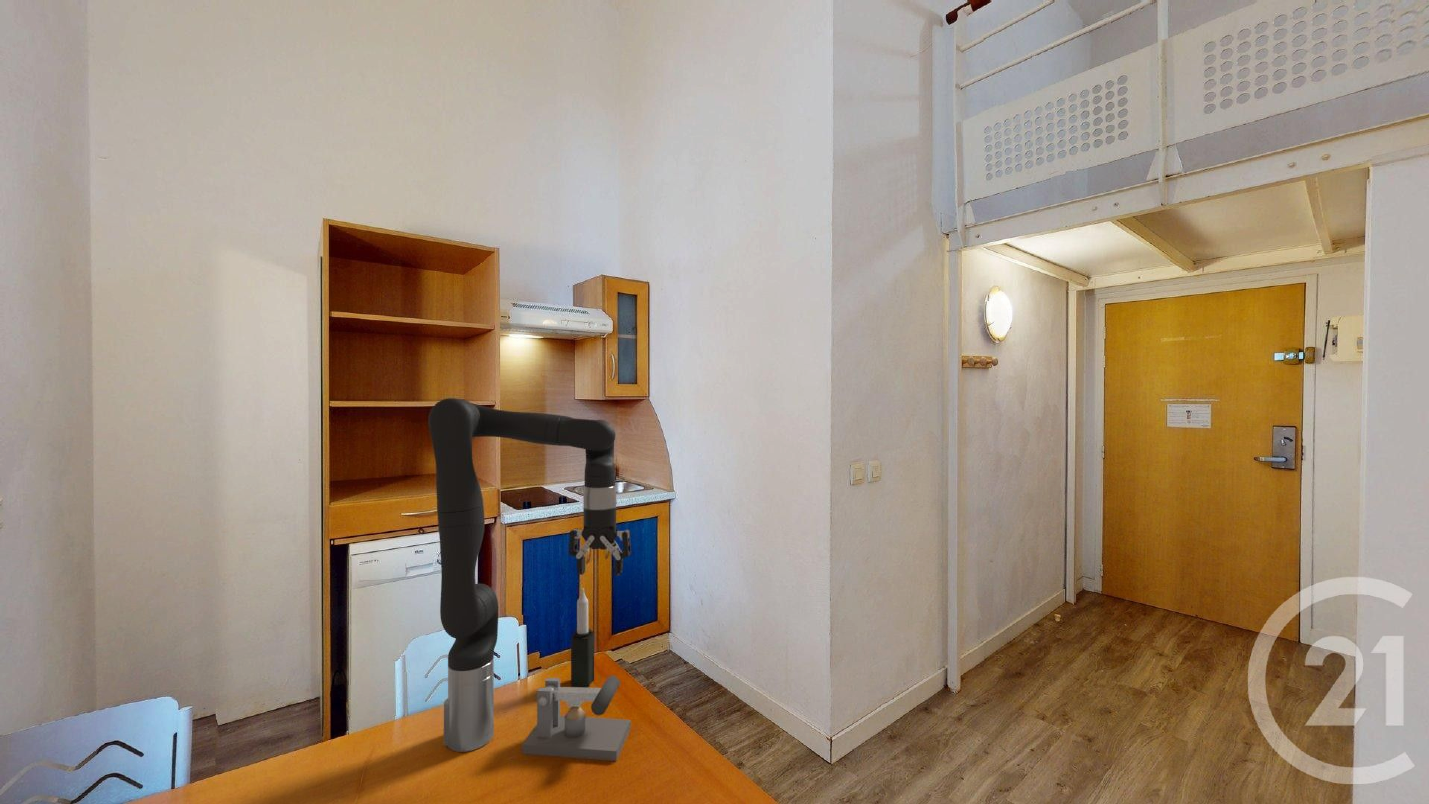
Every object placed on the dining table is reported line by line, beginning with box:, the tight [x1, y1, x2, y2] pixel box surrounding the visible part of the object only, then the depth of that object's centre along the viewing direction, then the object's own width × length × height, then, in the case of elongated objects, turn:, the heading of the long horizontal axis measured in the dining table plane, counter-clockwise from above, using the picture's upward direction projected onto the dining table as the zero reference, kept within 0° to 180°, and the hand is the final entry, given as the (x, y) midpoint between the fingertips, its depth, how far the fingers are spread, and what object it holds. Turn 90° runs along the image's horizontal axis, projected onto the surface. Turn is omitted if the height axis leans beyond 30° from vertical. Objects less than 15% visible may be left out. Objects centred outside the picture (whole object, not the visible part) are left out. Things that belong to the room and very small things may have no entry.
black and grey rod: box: [570, 587, 595, 688], centre depth 143 cm, size 5×5×25 cm
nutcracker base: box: [521, 677, 632, 762], centre depth 118 cm, size 20×11×12 cm, turn 84°
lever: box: [546, 675, 620, 716], centre depth 118 cm, size 16×10×4 cm, turn 84°
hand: (599, 574), depth 126 cm, fingers open, 8 cm apart
